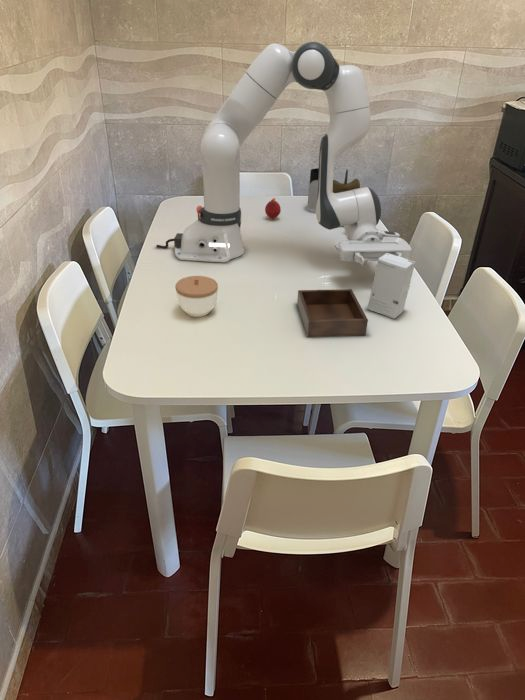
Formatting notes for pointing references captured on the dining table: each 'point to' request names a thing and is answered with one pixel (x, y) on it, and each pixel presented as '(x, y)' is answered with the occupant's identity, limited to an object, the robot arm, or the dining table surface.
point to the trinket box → (197, 295)
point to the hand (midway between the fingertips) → (381, 262)
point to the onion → (272, 209)
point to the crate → (331, 313)
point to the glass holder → (313, 190)
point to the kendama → (345, 185)
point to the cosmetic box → (391, 285)
